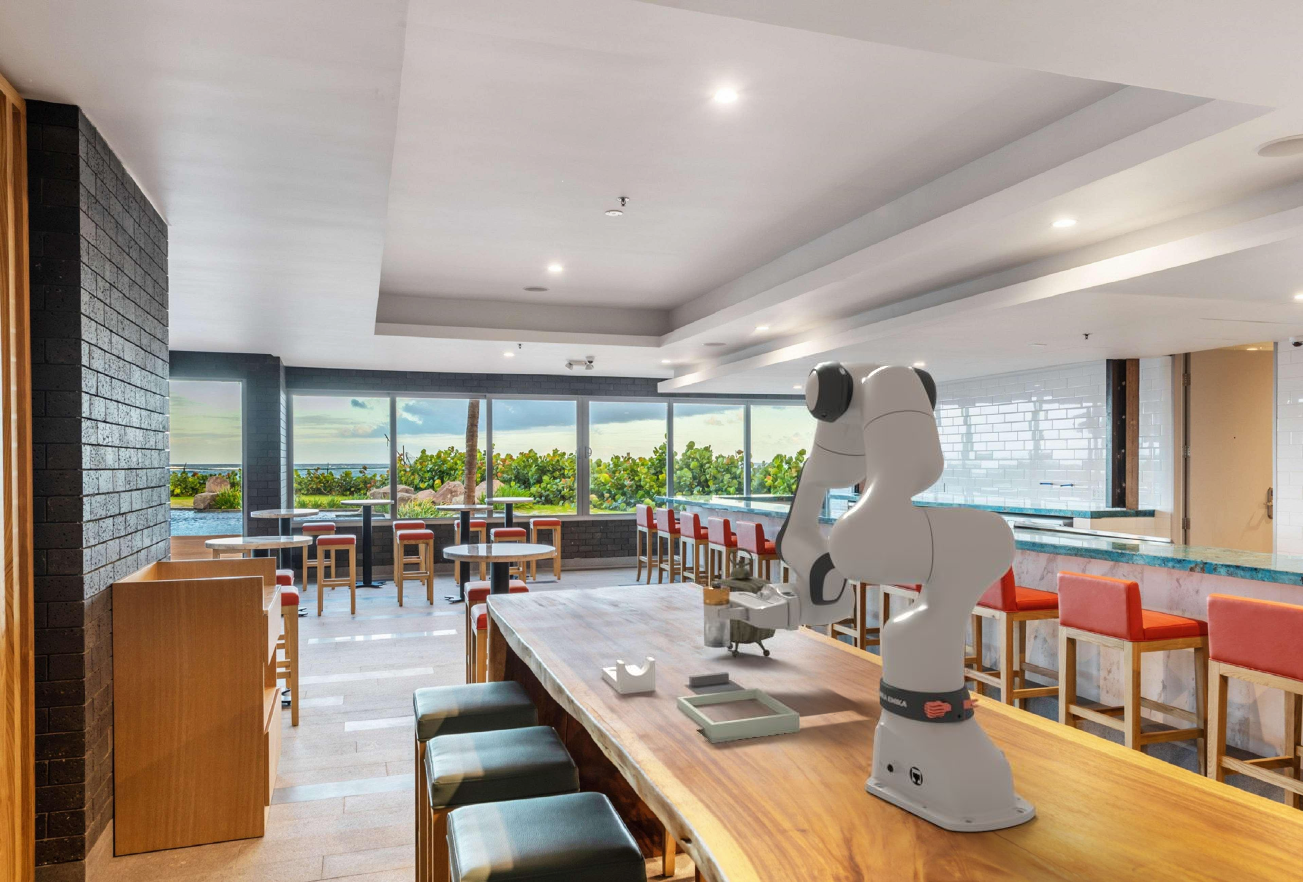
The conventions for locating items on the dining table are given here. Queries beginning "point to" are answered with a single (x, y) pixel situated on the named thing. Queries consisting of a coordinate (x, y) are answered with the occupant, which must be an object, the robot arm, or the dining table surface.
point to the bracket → (631, 677)
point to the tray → (743, 727)
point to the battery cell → (716, 615)
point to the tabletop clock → (747, 583)
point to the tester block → (712, 683)
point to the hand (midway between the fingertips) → (712, 611)
